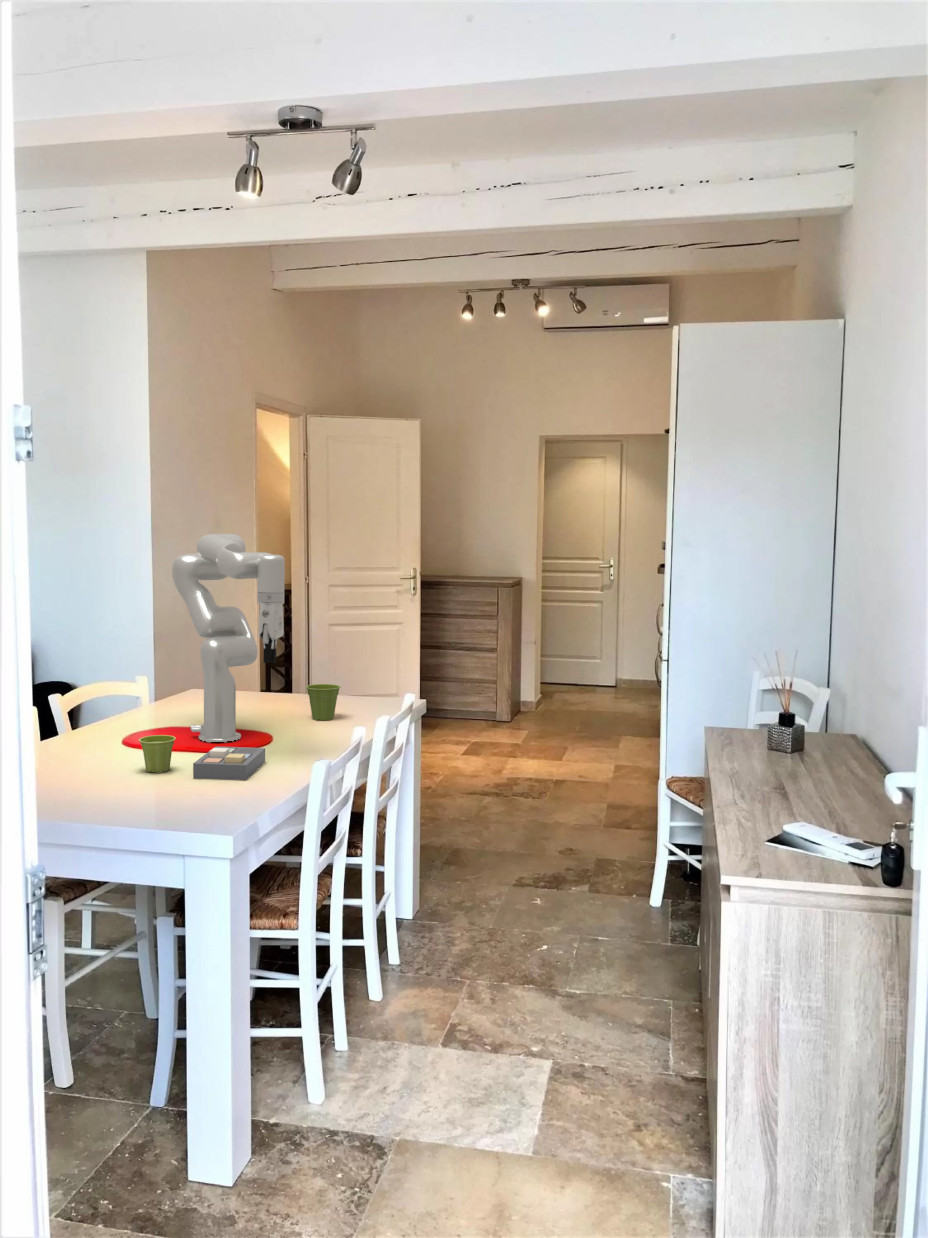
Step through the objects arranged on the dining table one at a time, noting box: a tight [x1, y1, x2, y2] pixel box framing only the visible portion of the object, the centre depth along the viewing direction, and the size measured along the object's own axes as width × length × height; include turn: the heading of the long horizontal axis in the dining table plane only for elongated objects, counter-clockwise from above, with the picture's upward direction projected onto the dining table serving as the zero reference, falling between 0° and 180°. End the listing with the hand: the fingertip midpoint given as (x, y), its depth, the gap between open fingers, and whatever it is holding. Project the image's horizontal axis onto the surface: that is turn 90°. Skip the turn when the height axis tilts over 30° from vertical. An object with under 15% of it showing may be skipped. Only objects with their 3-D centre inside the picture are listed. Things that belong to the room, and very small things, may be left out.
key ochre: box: [225, 753, 245, 764], centre depth 269 cm, size 4×4×3 cm
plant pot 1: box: [138, 734, 176, 774], centre depth 273 cm, size 9×9×9 cm
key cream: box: [209, 747, 229, 758], centre depth 275 cm, size 4×4×3 cm
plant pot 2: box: [305, 683, 342, 722], centre depth 347 cm, size 12×12×11 cm
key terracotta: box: [203, 758, 223, 763], centre depth 269 cm, size 4×4×3 cm
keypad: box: [192, 745, 266, 781], centre depth 275 cm, size 14×20×4 cm
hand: (269, 662), depth 290 cm, fingers closed
